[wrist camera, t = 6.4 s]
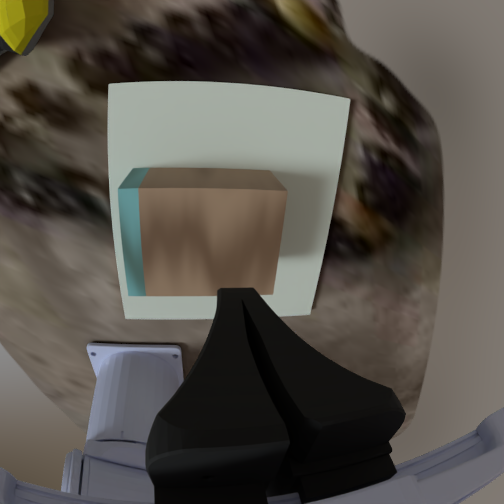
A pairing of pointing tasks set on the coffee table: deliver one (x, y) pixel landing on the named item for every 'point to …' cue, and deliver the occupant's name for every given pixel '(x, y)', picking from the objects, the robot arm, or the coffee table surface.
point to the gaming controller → (23, 24)
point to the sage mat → (234, 157)
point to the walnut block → (200, 230)
